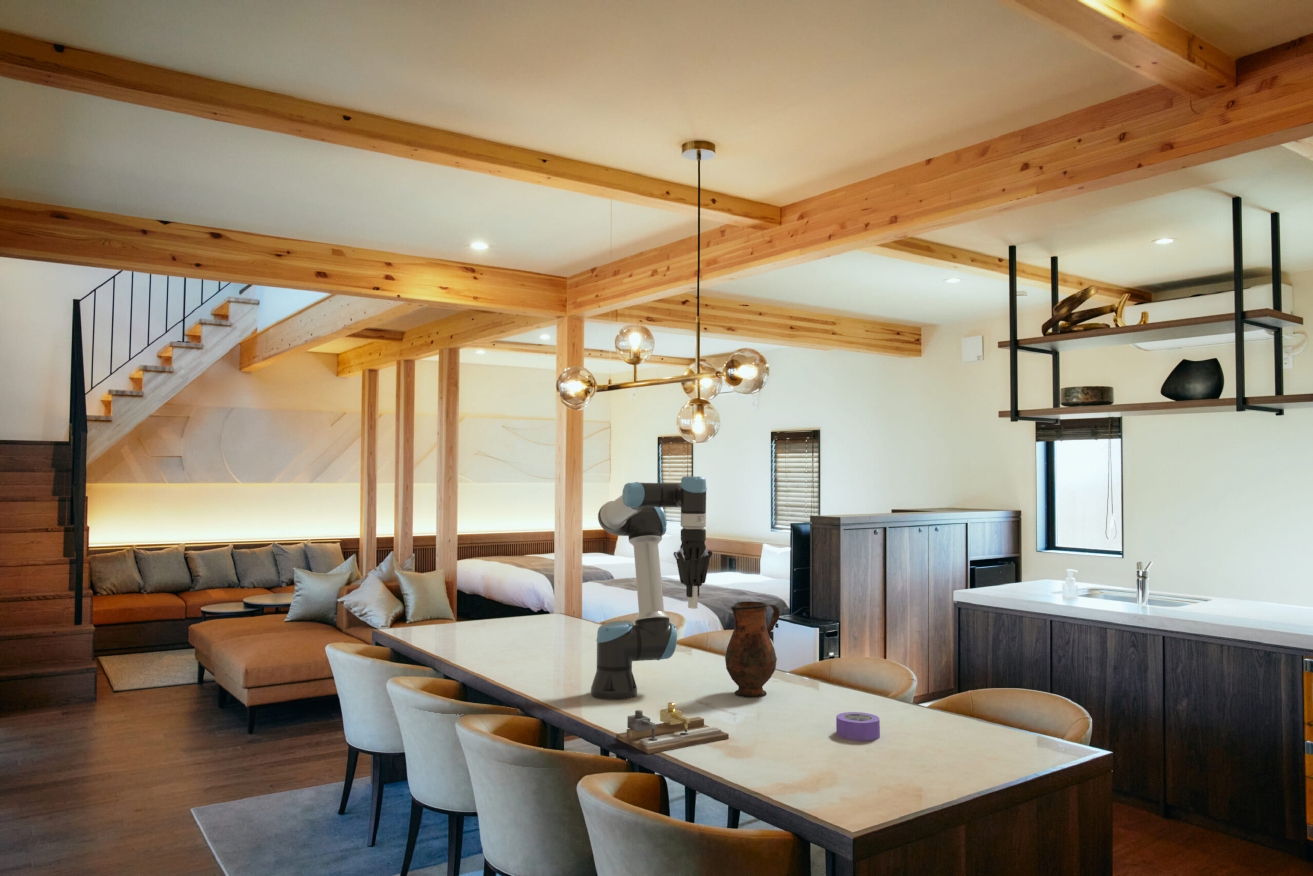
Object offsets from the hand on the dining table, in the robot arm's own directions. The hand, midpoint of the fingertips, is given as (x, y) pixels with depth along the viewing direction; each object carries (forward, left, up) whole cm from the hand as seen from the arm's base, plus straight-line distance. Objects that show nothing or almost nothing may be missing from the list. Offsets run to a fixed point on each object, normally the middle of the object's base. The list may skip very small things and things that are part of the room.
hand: (692, 608), depth 252 cm
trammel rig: (+13, -16, -32) cm, 38 cm away
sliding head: (+13, -14, -30) cm, 36 cm away
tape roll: (+37, +30, -33) cm, 58 cm away
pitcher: (-15, +37, -33) cm, 52 cm away
